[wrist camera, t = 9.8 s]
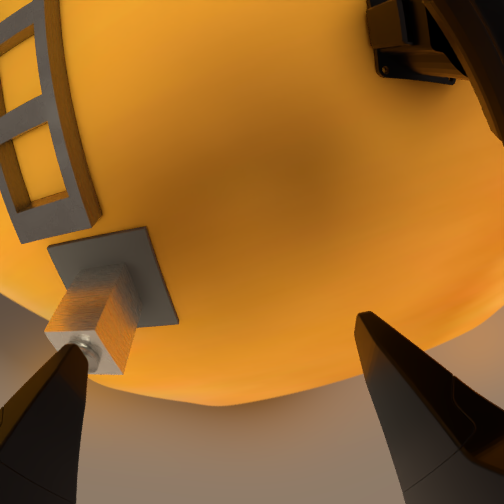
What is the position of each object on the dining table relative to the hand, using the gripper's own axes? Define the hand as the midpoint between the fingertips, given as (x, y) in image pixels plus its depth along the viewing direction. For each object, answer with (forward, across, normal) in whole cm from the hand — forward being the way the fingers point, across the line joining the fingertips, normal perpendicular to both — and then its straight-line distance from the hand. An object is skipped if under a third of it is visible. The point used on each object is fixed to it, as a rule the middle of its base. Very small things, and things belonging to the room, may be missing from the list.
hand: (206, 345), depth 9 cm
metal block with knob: (+12, +10, +6) cm, 17 cm away
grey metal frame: (+12, +12, -12) cm, 21 cm away
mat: (+12, +10, +6) cm, 17 cm away
